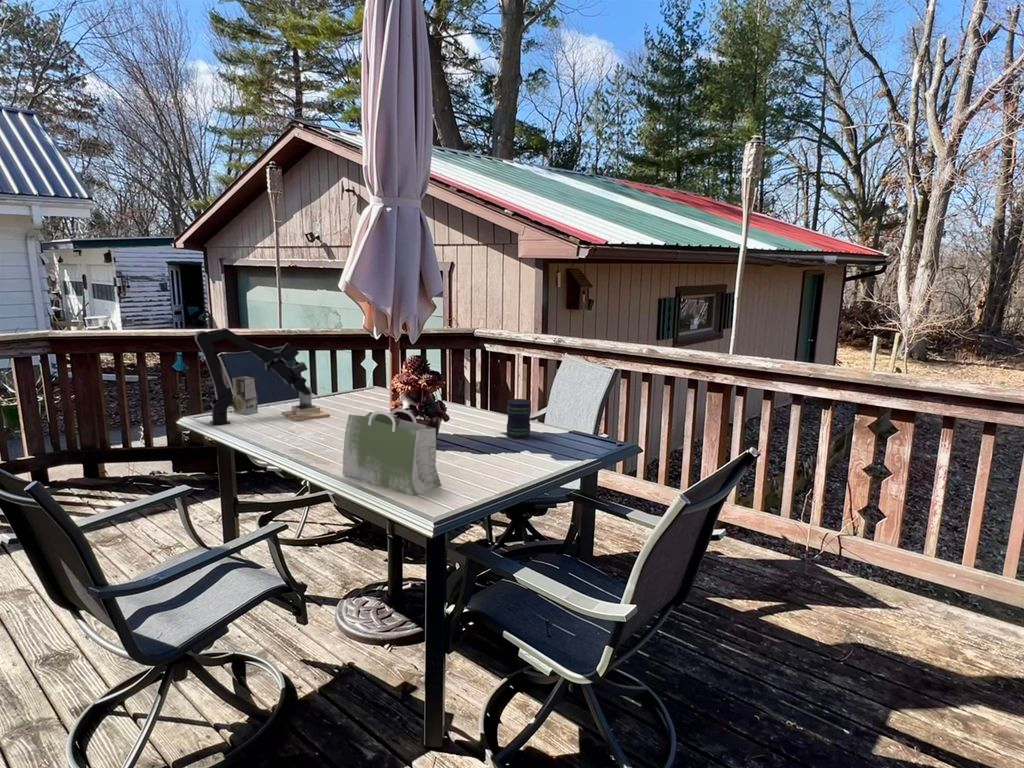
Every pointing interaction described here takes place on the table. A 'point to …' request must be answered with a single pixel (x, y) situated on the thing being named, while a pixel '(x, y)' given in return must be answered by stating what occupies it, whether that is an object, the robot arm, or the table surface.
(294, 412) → the socket block
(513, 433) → the storage jar
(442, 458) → the table surface
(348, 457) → the grocery bag
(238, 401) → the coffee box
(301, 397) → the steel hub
